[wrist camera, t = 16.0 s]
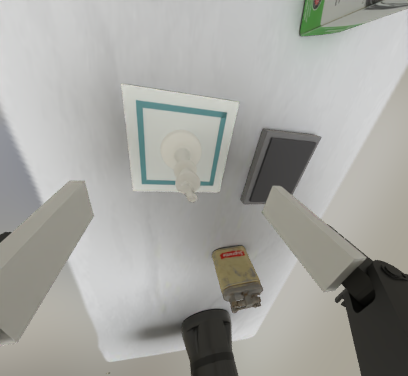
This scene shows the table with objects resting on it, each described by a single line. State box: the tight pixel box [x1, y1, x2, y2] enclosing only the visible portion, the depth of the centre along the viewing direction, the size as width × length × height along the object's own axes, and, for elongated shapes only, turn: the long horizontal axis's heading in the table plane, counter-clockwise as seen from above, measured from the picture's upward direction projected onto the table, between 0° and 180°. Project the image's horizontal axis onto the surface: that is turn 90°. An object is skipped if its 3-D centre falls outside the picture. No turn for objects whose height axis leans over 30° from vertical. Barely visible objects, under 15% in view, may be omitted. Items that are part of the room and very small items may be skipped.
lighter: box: [212, 246, 263, 313], centre depth 29 cm, size 7×4×10 cm, turn 89°
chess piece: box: [160, 130, 202, 203], centre depth 15 cm, size 5×5×10 cm
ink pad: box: [241, 129, 321, 204], centre depth 23 cm, size 11×8×2 cm
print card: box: [121, 84, 239, 193], centre depth 19 cm, size 12×12×1 cm
